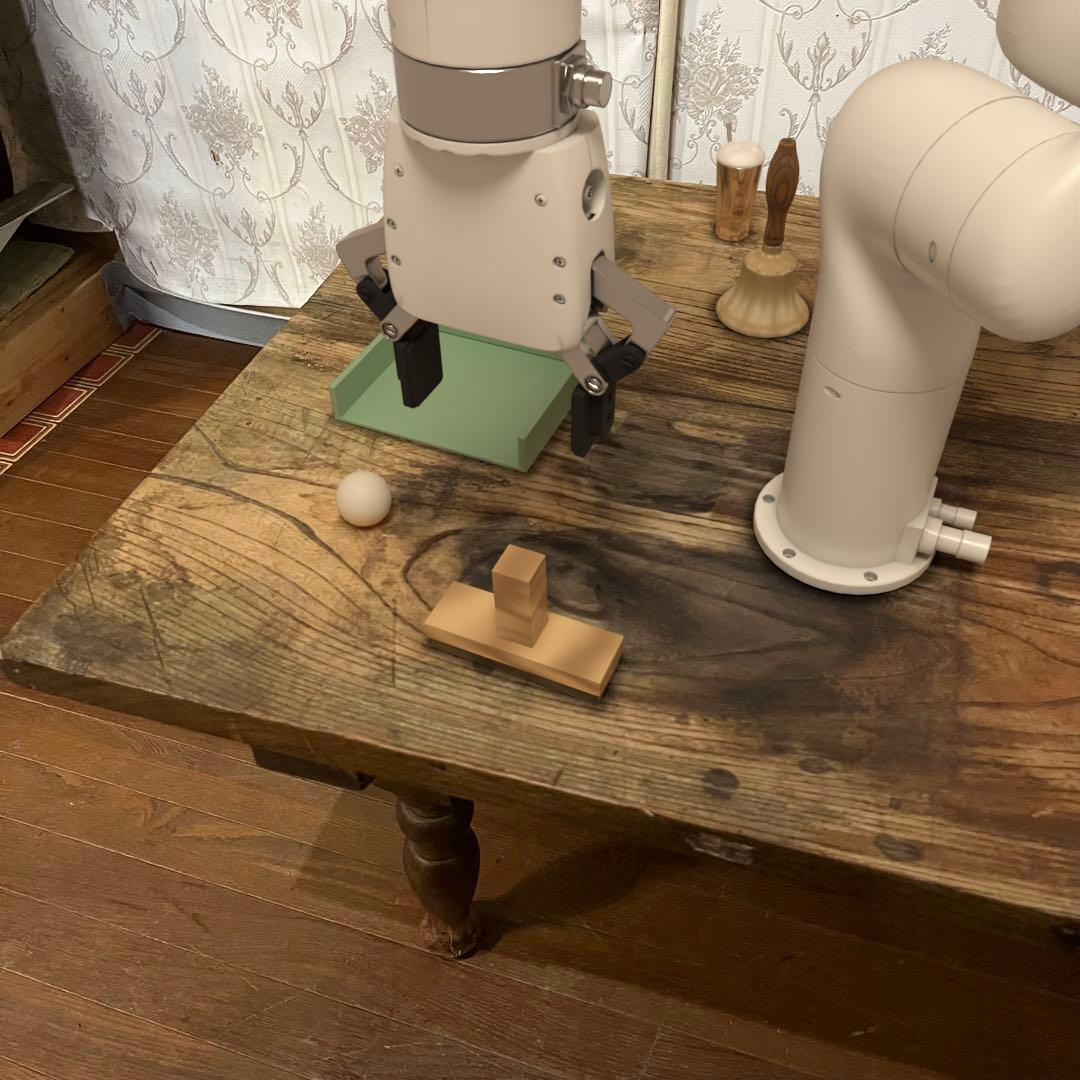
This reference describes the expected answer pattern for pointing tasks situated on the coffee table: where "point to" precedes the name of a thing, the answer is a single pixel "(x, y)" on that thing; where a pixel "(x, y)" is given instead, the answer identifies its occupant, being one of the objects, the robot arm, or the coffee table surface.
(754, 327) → the hand bell
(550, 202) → the robot arm
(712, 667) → the coffee table surface
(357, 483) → the white ball
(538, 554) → the brush
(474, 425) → the dustpan
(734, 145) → the milkshake
